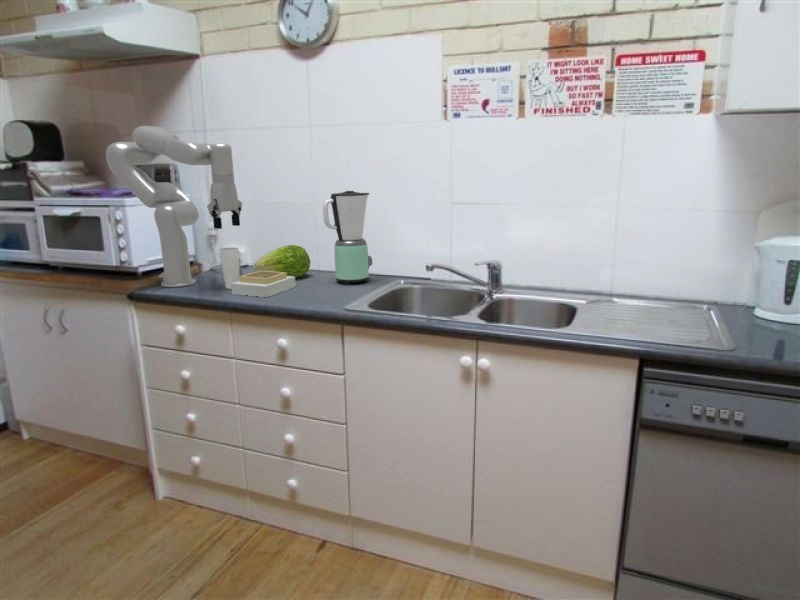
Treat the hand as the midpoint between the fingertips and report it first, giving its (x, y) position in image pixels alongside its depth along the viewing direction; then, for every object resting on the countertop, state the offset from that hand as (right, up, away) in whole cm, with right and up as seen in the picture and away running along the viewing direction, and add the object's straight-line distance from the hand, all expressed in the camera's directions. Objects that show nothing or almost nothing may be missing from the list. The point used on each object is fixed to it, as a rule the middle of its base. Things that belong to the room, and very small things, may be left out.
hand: (227, 227), depth 197 cm
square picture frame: (+13, -23, +1) cm, 27 cm away
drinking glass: (0, -23, +6) cm, 23 cm away
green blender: (+44, -20, +14) cm, 50 cm away
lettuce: (+14, -17, +25) cm, 34 cm away
